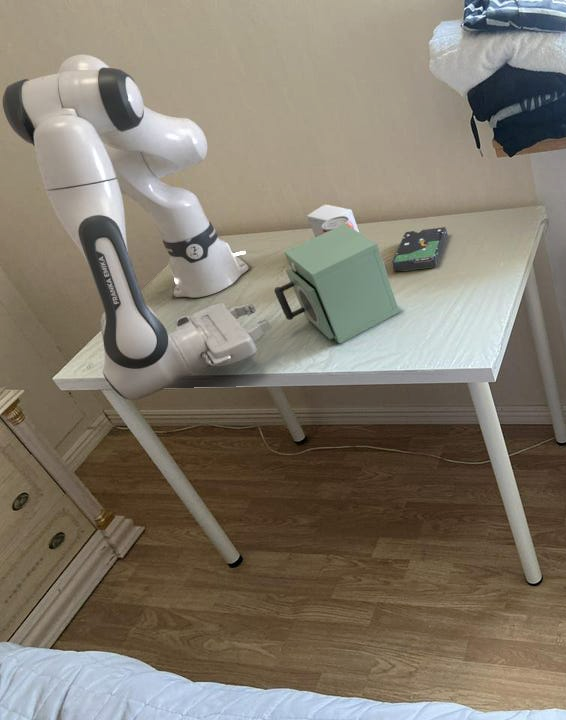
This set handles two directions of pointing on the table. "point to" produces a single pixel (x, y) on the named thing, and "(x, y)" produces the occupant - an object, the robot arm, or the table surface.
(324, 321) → the door
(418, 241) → the disk drive
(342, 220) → the soda can
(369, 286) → the washer
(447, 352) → the table surface
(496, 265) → the table surface
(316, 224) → the cosmetics box
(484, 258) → the table surface
